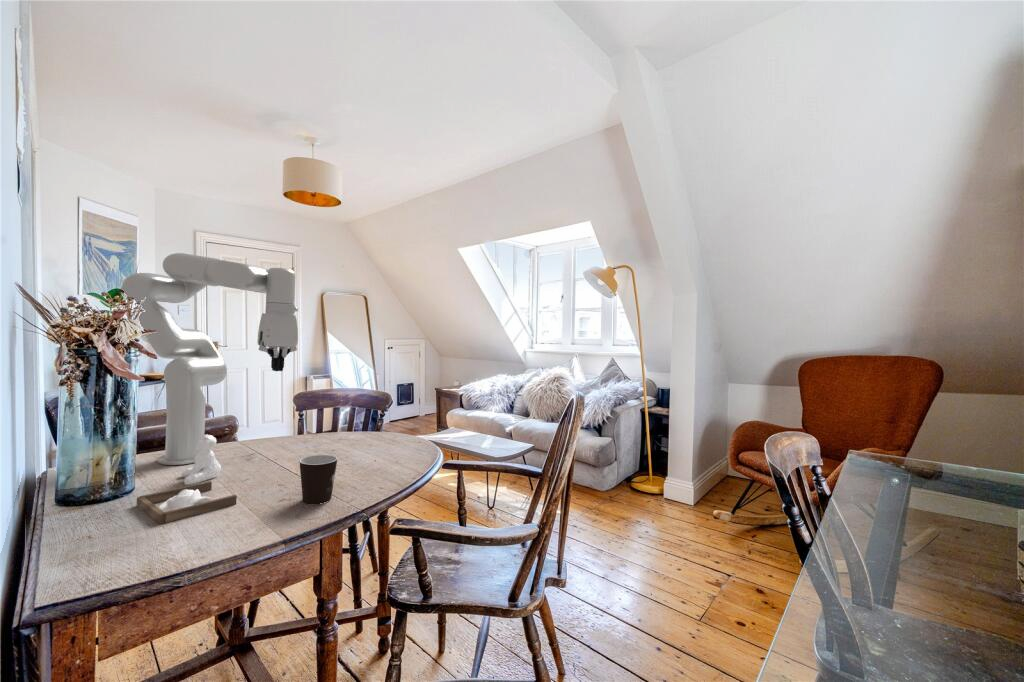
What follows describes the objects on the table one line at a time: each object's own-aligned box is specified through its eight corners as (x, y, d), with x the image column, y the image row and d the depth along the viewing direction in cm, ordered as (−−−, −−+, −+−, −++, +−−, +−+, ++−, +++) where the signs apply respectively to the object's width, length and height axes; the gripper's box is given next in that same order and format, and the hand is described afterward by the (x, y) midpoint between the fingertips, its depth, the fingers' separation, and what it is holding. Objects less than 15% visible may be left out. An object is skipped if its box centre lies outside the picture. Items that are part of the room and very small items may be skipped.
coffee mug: (321, 508, 101) (323, 466, 101) (289, 504, 102) (291, 462, 102) (349, 491, 112) (351, 453, 112) (320, 487, 114) (322, 450, 114)
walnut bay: (136, 505, 98) (136, 497, 98) (209, 489, 110) (210, 481, 110) (159, 524, 89) (160, 515, 89) (236, 504, 101) (236, 495, 101)
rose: (210, 493, 96) (154, 501, 91) (210, 513, 96) (154, 522, 91) (212, 480, 104) (160, 486, 99) (211, 498, 104) (160, 505, 99)
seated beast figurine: (180, 476, 118) (181, 433, 118) (217, 470, 124) (219, 429, 123) (184, 486, 111) (186, 440, 111) (224, 479, 117) (226, 435, 117)
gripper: (297, 311, 137) (295, 369, 137) (247, 307, 125) (244, 370, 125) (310, 311, 133) (308, 370, 133) (259, 307, 120) (257, 372, 120)
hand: (277, 370), depth 129 cm, fingers closed
